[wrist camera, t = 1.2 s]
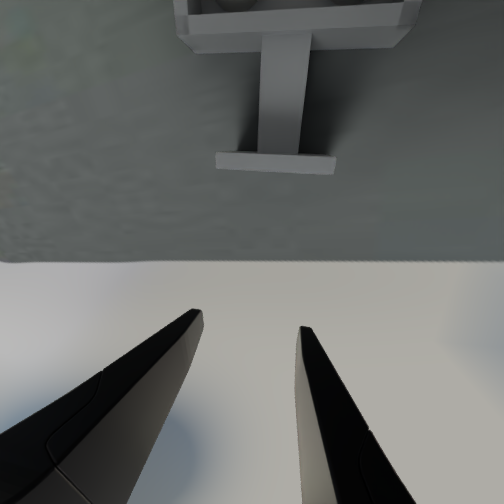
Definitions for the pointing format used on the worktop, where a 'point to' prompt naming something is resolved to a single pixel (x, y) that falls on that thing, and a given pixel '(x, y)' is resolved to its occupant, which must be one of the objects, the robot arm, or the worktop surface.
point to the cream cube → (347, 2)
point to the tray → (288, 61)
